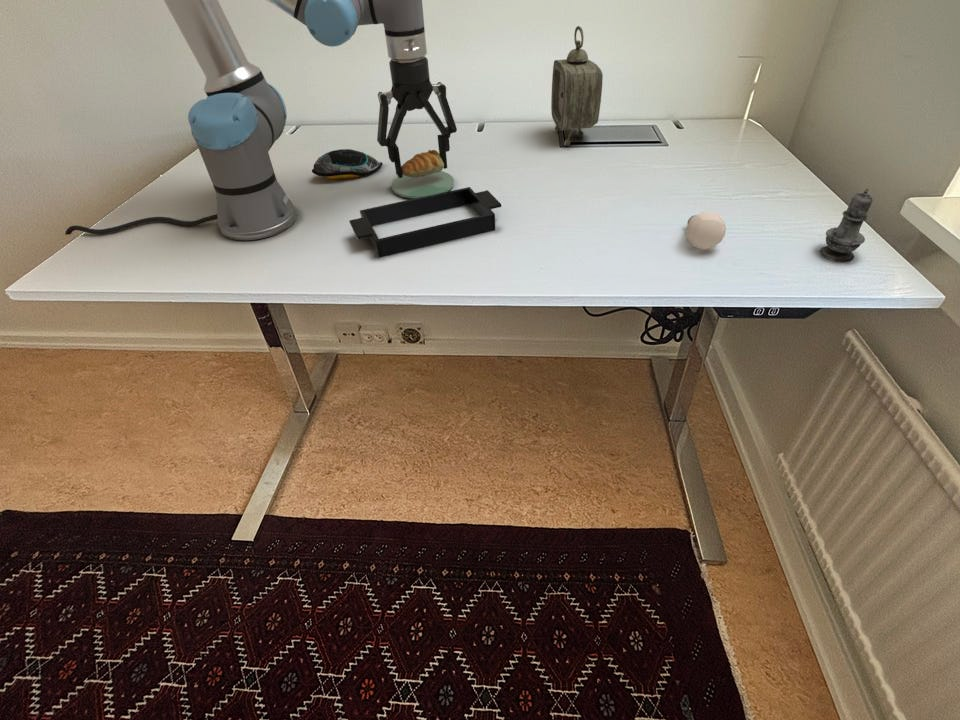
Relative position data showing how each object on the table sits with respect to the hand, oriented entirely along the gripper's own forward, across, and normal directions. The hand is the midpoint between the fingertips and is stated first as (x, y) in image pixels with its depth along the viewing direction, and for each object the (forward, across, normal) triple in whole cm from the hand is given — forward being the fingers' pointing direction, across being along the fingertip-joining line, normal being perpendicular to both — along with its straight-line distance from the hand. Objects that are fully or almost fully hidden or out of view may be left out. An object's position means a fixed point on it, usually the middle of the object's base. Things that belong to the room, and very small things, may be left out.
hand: (421, 170), depth 118 cm
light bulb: (+4, +39, -46) cm, 60 cm away
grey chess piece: (+4, +57, -60) cm, 83 cm away
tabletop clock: (+4, +44, +10) cm, 45 cm away
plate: (+4, 0, 0) cm, 4 cm away
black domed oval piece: (+4, -14, +15) cm, 21 cm away
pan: (+4, -5, -19) cm, 20 cm away
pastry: (0, +1, 0) cm, 1 cm away
